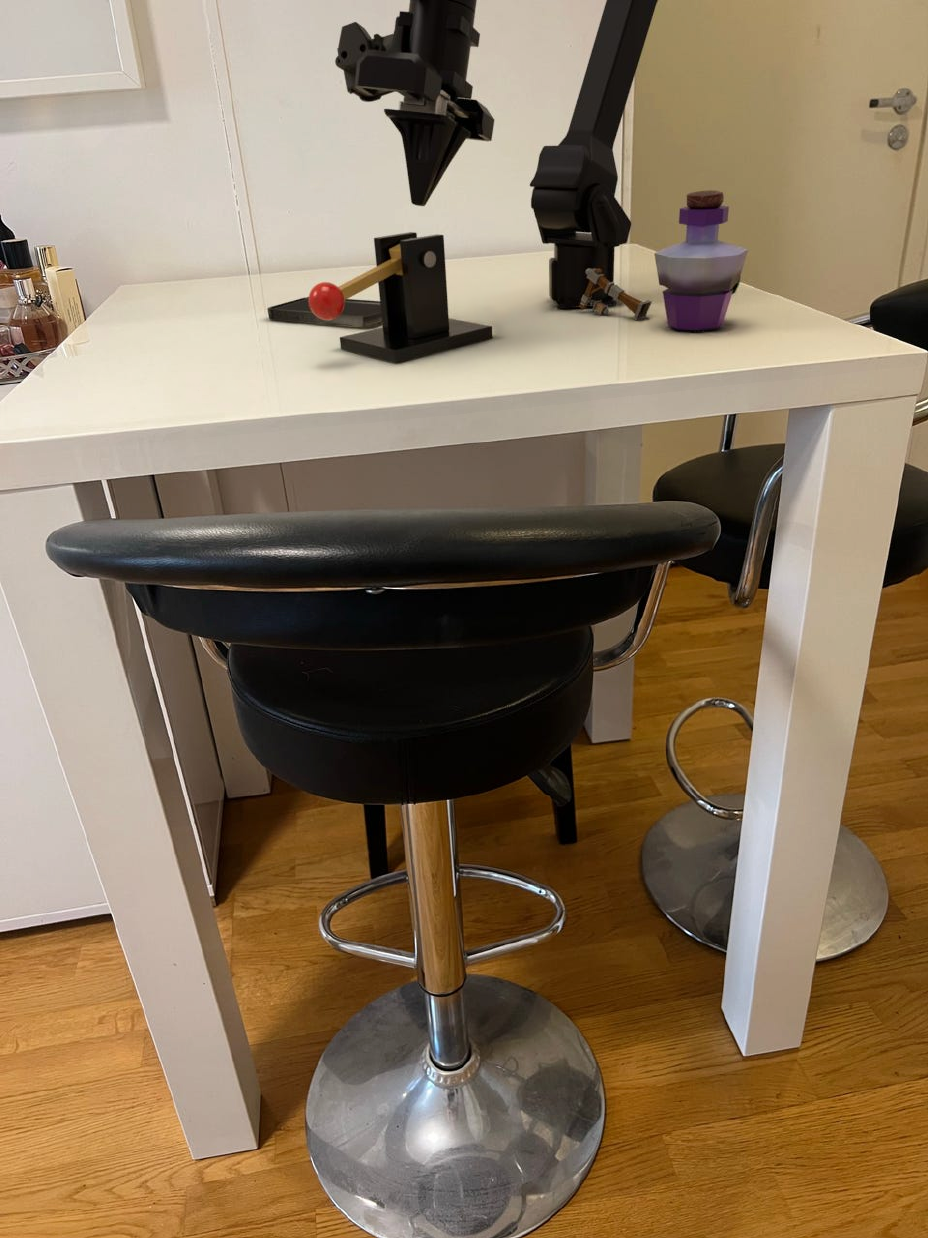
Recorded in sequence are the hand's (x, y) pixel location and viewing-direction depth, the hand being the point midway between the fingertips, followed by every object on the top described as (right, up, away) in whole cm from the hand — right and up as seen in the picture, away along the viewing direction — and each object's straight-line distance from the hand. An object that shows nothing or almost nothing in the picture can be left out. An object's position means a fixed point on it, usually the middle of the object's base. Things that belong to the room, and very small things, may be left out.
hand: (418, 205), depth 82 cm
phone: (-10, -4, +19) cm, 22 cm away
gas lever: (-4, -8, 0) cm, 9 cm away
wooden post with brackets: (+20, -7, +11) cm, 24 cm away
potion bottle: (+27, -10, +5) cm, 29 cm away
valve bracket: (0, -11, +5) cm, 12 cm away
